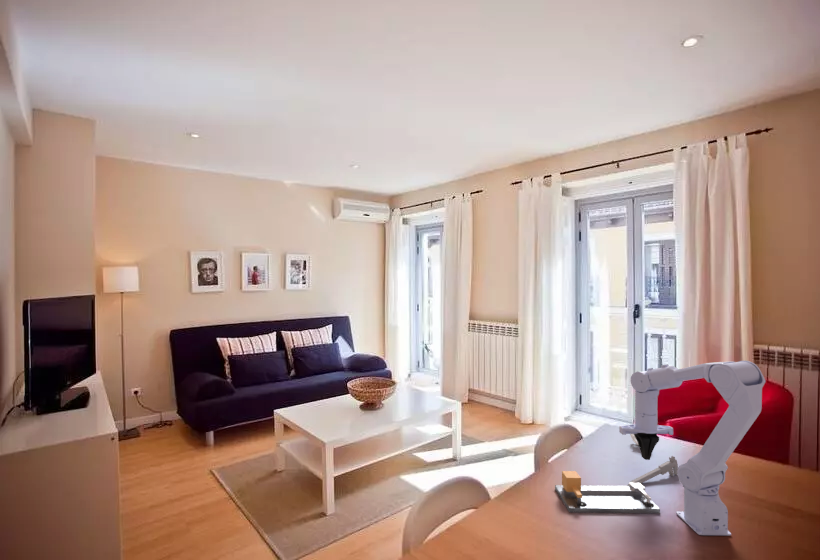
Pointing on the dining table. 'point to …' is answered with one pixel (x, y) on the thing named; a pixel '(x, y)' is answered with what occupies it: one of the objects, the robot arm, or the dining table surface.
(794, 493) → the dining table surface
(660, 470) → the caliper
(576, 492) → the block
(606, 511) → the board
